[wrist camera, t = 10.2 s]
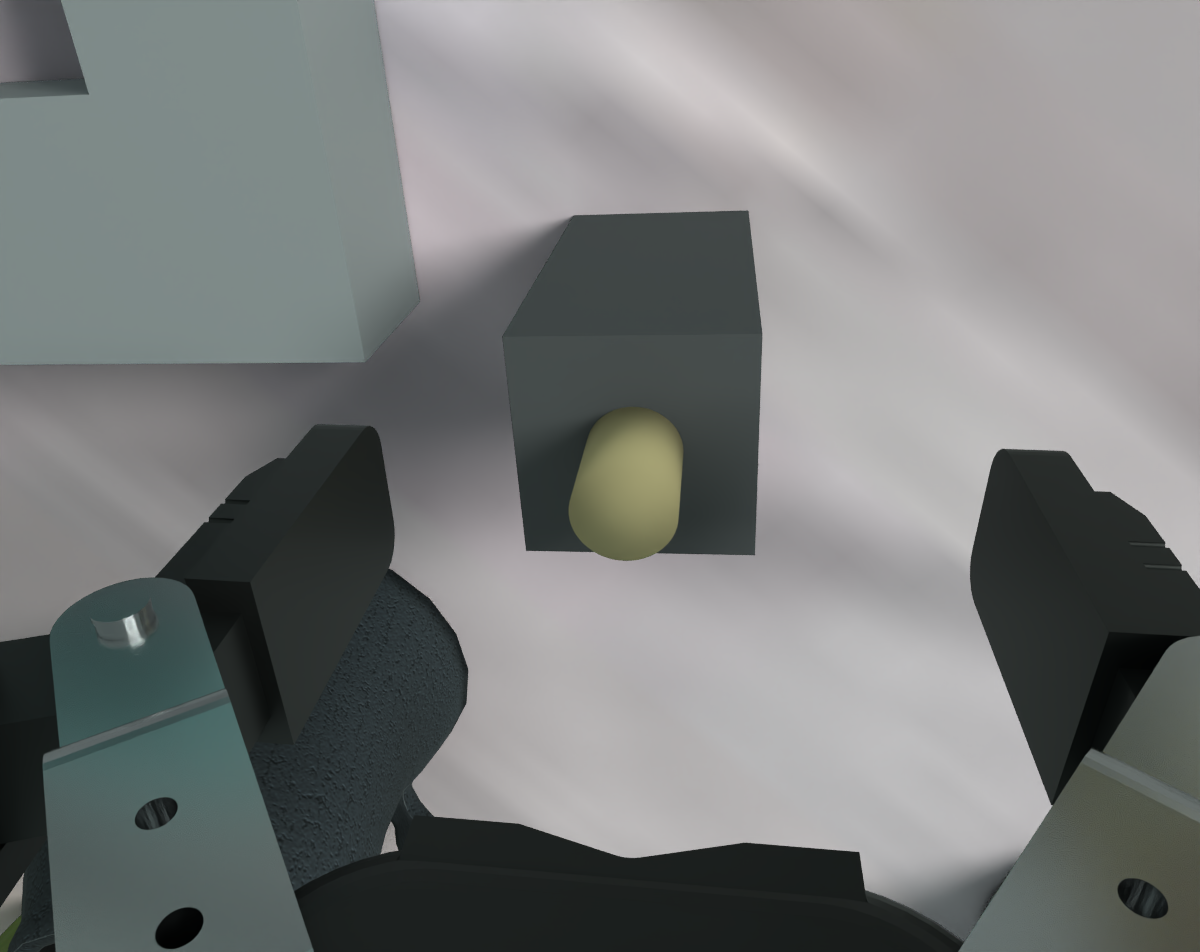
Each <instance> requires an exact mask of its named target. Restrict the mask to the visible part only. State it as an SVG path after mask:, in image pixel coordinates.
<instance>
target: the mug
mask: <svg viewBox="0 0 1200 952" xmlns="http://www.w3.org/2000/svg"><path fill="white" fill-rule="evenodd" d="M467 684H468V667H467V664H466V661H465V658H464V655H463V653H462V650H461V647H460V644H459V641H458V638H457V635H456V633H455V632H454V630H453V629H452V628H451V626H450V625H449V624H448V622H447V621H446V620H445V618H444V617H443V616H442V614H441V613H440V612H439V610H438V609H437V608H436V606H435V605H434V604H433V602H432V601H431V600H430V599H429V598H428V597H427V596H425V595H424V594H423V593H421V592H420V591H419V590H417V589H416V588H415V587H414V586H412V585H411V584H410V583H408V582H407V581H406V580H404V579H403V578H402V577H401V576H399V575H398V574H397V573H395V572H394V571H393V570H391V569H388V571H387V572H386V574H385V576H384V578H383V580H382V582H381V584H380V586H379V587H378V589H377V591H376V593H375V595H374V597H373V599H372V600H371V602H370V604H369V606H368V608H367V610H366V612H365V613H364V615H363V617H362V619H361V621H360V623H359V625H358V627H357V628H356V630H355V632H354V634H353V636H352V638H351V640H350V641H349V643H348V645H347V647H346V649H345V651H344V653H343V654H342V656H341V658H340V660H339V662H338V664H337V666H336V668H335V669H334V671H333V673H332V675H331V677H330V679H329V681H328V682H327V684H326V686H325V688H324V690H323V692H322V694H321V695H320V697H319V699H318V701H317V703H316V705H315V707H314V709H313V710H312V712H311V714H310V716H309V718H308V720H307V722H306V723H305V725H304V727H303V729H302V731H301V733H300V735H299V736H298V738H297V740H296V742H295V744H294V745H289V744H275V743H262V742H256V743H255V744H254V746H253V748H252V750H251V751H250V753H249V758H250V761H251V764H252V767H253V770H254V773H255V776H256V779H257V782H258V785H259V788H260V791H261V794H262V797H263V800H264V803H265V806H266V809H267V812H268V815H269V818H270V821H271V824H272V827H273V830H274V833H275V836H276V839H277V842H278V845H279V848H280V851H281V854H282V857H283V860H284V863H285V866H286V869H287V872H288V876H289V879H290V882H291V885H292V888H293V891H295V890H297V889H299V888H300V887H302V886H304V885H305V884H307V883H308V882H310V881H312V880H314V879H316V878H318V877H320V876H322V875H325V874H327V873H329V872H331V871H333V870H335V869H337V868H340V867H343V866H345V865H348V864H351V863H353V862H356V861H359V860H362V859H365V858H369V857H373V856H377V855H380V854H381V850H382V846H383V842H384V838H385V834H386V831H387V829H388V826H389V824H390V822H392V823H393V825H394V827H395V836H396V844H397V847H398V850H399V851H400V850H402V848H403V845H404V842H405V839H406V837H407V834H408V831H409V828H410V825H411V822H412V820H413V817H414V815H419V816H431V817H434V816H433V815H432V814H431V813H430V812H429V811H428V810H427V809H426V807H425V806H424V805H423V804H422V803H421V801H420V800H419V798H418V796H417V794H416V793H415V791H414V789H413V788H412V782H413V780H414V779H415V778H416V777H417V776H418V775H419V774H420V773H421V771H422V770H423V769H424V768H425V766H426V765H427V764H428V763H429V761H430V760H431V759H432V757H433V756H434V755H435V753H436V752H437V751H438V750H439V748H440V747H441V746H442V744H443V743H444V741H445V740H446V739H447V737H448V736H449V734H450V733H451V731H452V729H453V728H454V726H455V724H456V722H457V720H458V718H459V716H460V714H461V712H462V711H463V709H464V707H465V705H466V701H467ZM7 952H56V948H55V934H54V920H53V906H52V892H51V878H50V864H49V850H48V838H47V840H46V841H45V843H44V844H43V846H42V847H41V849H40V850H39V851H38V853H37V854H36V856H35V857H34V859H33V860H32V862H31V863H30V865H29V866H28V867H27V869H26V870H25V872H24V877H23V895H22V914H21V922H20V924H19V926H18V928H17V930H16V932H15V934H14V936H13V938H12V940H11V942H10V944H9V947H8V951H7Z"/></svg>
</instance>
